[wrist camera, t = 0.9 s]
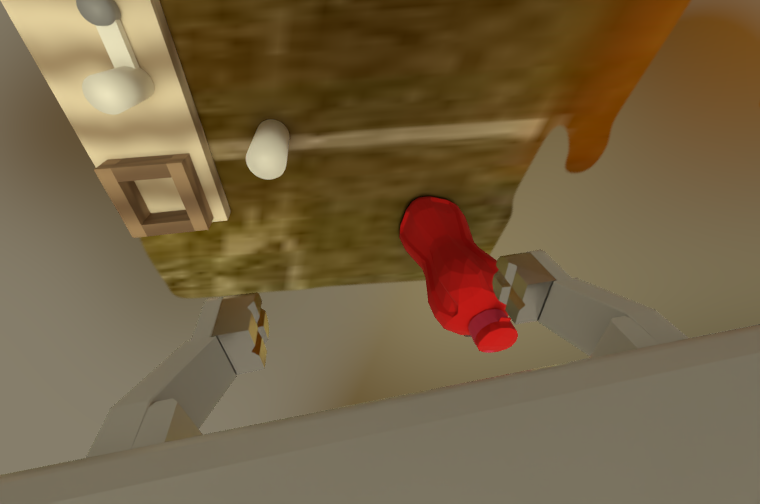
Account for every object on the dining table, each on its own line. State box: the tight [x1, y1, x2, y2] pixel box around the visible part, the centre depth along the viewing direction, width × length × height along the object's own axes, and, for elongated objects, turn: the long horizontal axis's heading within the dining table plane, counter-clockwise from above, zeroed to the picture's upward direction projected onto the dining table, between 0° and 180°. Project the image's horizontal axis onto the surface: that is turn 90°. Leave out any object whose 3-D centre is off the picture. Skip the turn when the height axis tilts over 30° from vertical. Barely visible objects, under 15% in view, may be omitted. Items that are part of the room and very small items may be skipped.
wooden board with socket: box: [1, 0, 231, 238], centre depth 35 cm, size 26×12×5 cm, turn 1°
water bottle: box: [400, 196, 518, 352], centre depth 43 cm, size 9×11×25 cm
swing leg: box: [76, 0, 154, 115], centre depth 29 cm, size 9×3×6 cm, turn 1°
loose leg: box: [246, 119, 290, 179], centre depth 37 cm, size 4×4×9 cm
